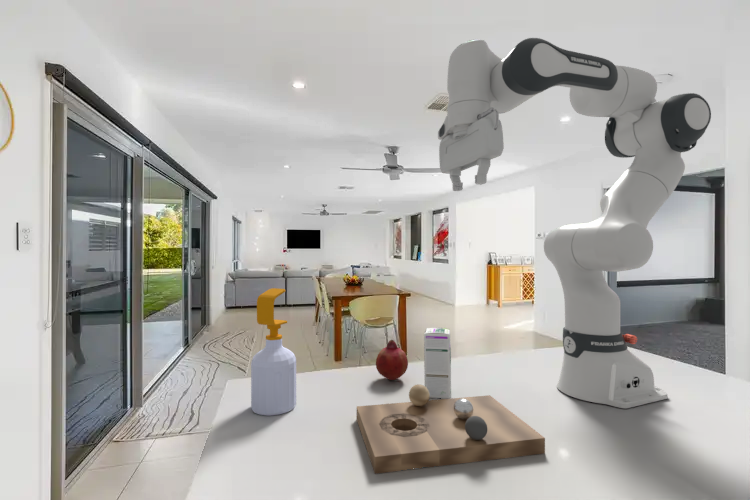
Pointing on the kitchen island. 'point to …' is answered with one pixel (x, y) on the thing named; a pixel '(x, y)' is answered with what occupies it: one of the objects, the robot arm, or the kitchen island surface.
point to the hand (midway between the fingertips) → (468, 187)
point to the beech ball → (419, 395)
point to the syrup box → (437, 362)
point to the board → (442, 434)
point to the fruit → (391, 361)
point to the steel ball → (463, 409)
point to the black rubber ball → (476, 427)
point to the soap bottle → (272, 364)
